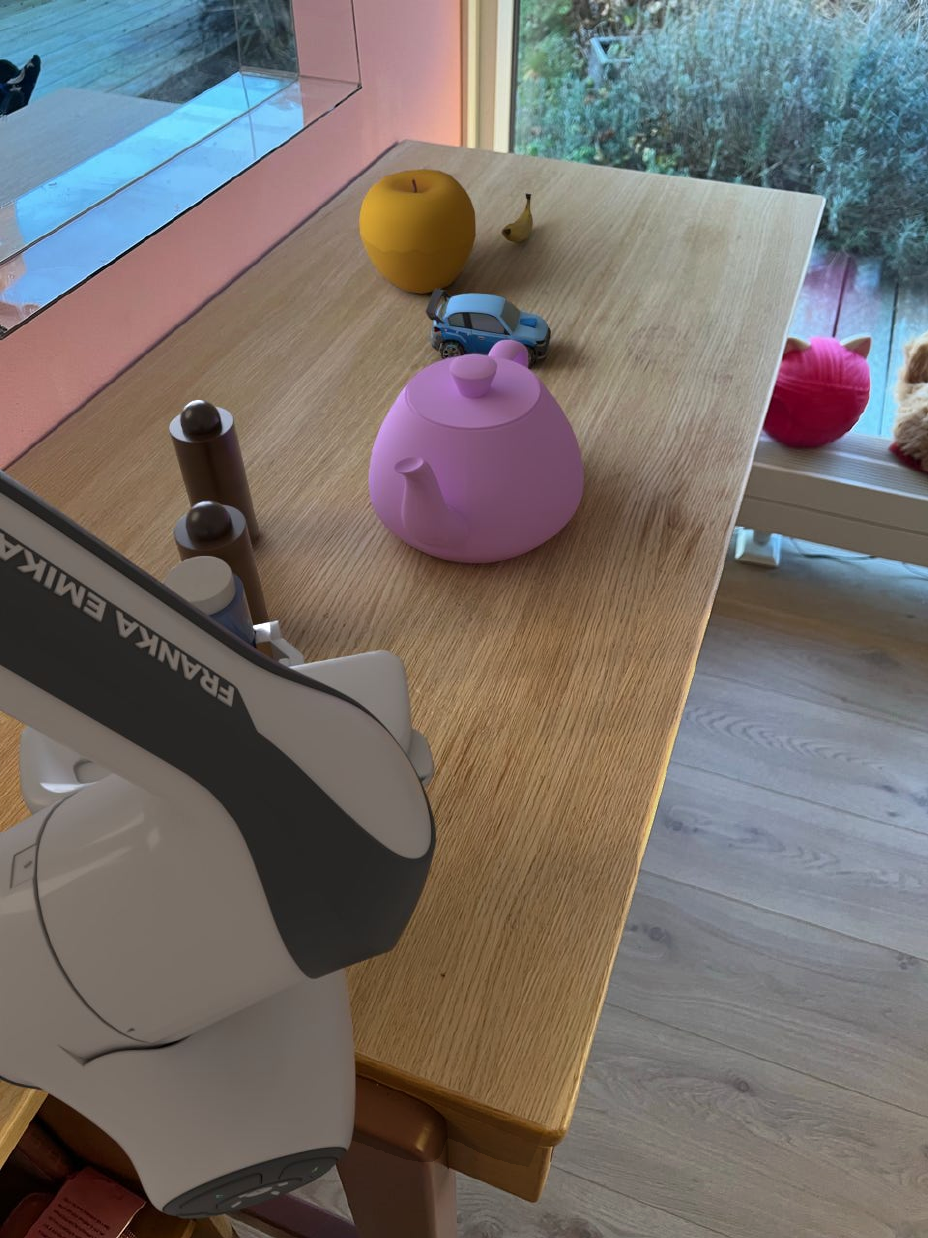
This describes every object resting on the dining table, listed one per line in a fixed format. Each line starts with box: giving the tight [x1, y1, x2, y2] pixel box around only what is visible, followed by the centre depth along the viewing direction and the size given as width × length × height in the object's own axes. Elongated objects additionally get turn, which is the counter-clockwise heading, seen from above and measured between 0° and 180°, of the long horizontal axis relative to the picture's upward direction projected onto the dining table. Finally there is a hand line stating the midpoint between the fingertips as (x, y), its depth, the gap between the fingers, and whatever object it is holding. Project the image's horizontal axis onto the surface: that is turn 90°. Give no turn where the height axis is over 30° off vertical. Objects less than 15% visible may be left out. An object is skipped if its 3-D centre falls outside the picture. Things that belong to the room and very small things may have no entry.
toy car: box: [425, 288, 552, 367], centre depth 100 cm, size 6×12×6 cm, turn 80°
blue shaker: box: [163, 556, 257, 649], centre depth 58 cm, size 4×4×12 cm
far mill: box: [168, 399, 260, 545], centre depth 79 cm, size 5×5×13 cm
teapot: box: [368, 340, 585, 564], centre depth 79 cm, size 25×18×14 cm
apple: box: [358, 169, 477, 295], centre depth 110 cm, size 13×13×11 cm
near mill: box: [173, 501, 271, 626], centre depth 70 cm, size 5×5×13 cm
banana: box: [501, 192, 534, 244], centre depth 118 cm, size 10×2×4 cm, turn 163°
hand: (217, 638), depth 58 cm, fingers closed on blue shaker, 4 cm apart
